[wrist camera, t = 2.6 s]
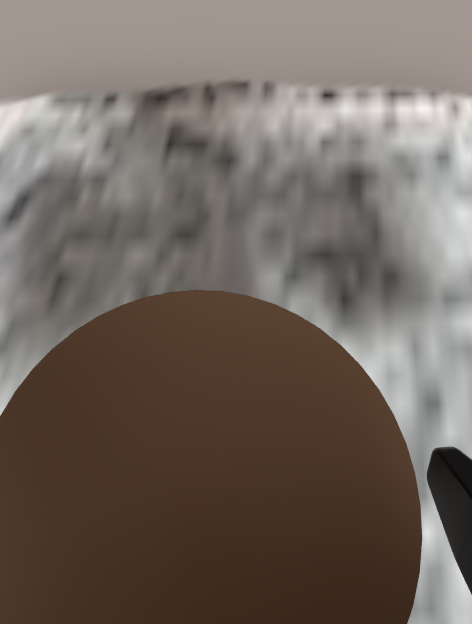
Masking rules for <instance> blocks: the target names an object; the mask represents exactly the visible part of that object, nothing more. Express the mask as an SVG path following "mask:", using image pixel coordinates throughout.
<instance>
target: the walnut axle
mask: <svg viewBox="0 0 472 624" xmlns="http://www.w3.org/2000/svg"><path fill="white" fill-rule="evenodd" d="M421 546H422V527H421V507H420V500H419V494H418V488H417V482H416V477H415V472H414V468H413V465H412V462H411V458H410V455H409V452H408V448H407V445H406V442H405V440H404V437H403V435H402V433H401V430H400V428H399V426H398V424H397V421H396V419H395V417H394V414H393V413H392V411H391V409H390V408H389V406H388V404H387V403H386V401H385V399H384V397H383V396H382V394H381V392H380V391H379V389H378V388H377V386H376V385H375V384H374V382H373V381H372V380H371V378H370V377H369V376H368V374H367V373H366V372H365V370H364V369H363V368H362V367H361V365H360V364H359V363H358V362H357V361H356V360H355V359H354V358H353V357H352V356H351V355H350V354H349V353H348V352H347V351H346V350H345V349H344V348H343V347H342V346H341V345H340V344H338V343H337V342H336V341H335V340H333V339H332V338H331V337H330V336H329V335H327V334H326V333H325V332H324V331H322V330H321V329H320V328H318V327H316V326H315V325H313V324H312V323H310V322H308V321H307V320H305V319H303V318H302V317H300V316H299V315H297V314H295V313H292V312H290V311H288V310H286V309H284V308H281V307H279V306H277V305H275V304H272V303H269V302H266V301H263V300H260V299H256V298H253V297H250V296H245V295H240V294H234V293H229V292H223V291H203V290H193V291H180V292H170V293H165V294H160V295H155V296H150V297H145V298H142V299H139V300H136V301H133V302H130V303H127V304H124V305H121V306H119V307H117V308H115V309H113V310H111V311H109V312H107V313H104V314H102V315H100V316H98V317H96V318H95V319H93V320H92V321H90V322H88V323H87V324H85V325H84V326H82V327H80V328H79V329H77V330H76V331H74V332H73V333H72V334H70V335H69V336H68V337H67V338H65V339H64V340H63V341H62V342H60V343H59V344H58V345H57V346H56V347H54V348H53V349H52V350H51V351H50V352H49V353H48V354H47V355H46V356H45V357H44V358H43V359H42V360H41V361H40V362H39V363H38V364H37V365H36V366H35V367H34V368H33V370H32V371H31V372H30V373H29V375H28V376H27V377H26V379H25V380H24V381H23V382H22V384H21V385H20V386H19V388H18V389H17V390H16V391H15V393H14V395H13V396H12V398H11V400H10V401H9V403H8V405H7V406H6V408H5V409H4V411H3V413H2V414H1V416H0V624H407V622H408V619H409V616H410V613H411V610H412V607H413V603H414V598H415V593H416V588H417V583H418V578H419V573H420V560H421Z"/></svg>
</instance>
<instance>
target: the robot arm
mask: <svg viewBox="0 0 472 624" xmlns="http://www.w3.org/2000/svg"><path fill="white" fill-rule="evenodd" d="M427 481H428V485H429V488H430V491H431V493H432V496H433V499H434V502H435V505H436V507H437V510H438V513H439V516H440V519H441V521H442V524H443V527H444V530H445V533H446V535H447V538H448V541H449V544H450V547H451V549H452V552H453V554H454V557H455V560H456V562H457V564H458V566H459V569H460V571H461V573H462V575H463V577H464V579H465V582H466V584H467V586H468V588H469V590H470V592H471V594H472V459H470V458H469V457H468V456H466V455H465V454H464V453H463V452H461V451H460V450H458V449H457V448H455V447H440V448H435V449H434V450H433V452H432V455H431V459H430V463H429V466H428V470H427Z"/></svg>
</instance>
